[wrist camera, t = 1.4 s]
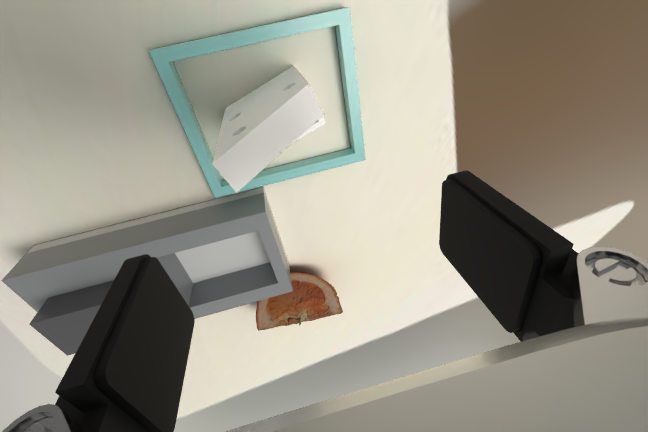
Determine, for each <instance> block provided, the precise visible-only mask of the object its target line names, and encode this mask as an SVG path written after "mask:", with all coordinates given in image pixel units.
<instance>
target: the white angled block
mask: <svg viewBox="0 0 648 432" xmlns="http://www.w3.org/2000/svg"><path fill="white" fill-rule="evenodd" d="M324 114H325V113H324V111H323V110H322V108H321V106H320V104H319V102H318V100H317V98H316V96H315V94H314V92H313V90H312V88H311V86H310V84H309V83H308V82H307V80H306V79H305V78H304V77H303V76H302V75H301V73H300V72H299V71H298V70H297V69H296V68H295V67H294V66H292V67H290V68H289V69H287V70H286V71H284V72H282V73H281V74H279V75H278V76H276V77H274V78H273V79H271V80H270V81H268V82H266V83H265V84H263V85H262V86H260V87H258V88H257V89H255V90H254V91H252V92H250V93H249V94H247V95H246V96H244V97H242V98H241V99H239V100H238V101H236V102H234V103H233V104H231V105H230V106H228V107H226V108H225V112H224V116H223V120H222V125H221V129H220V133H219V137H218V141H217V145H216V149H215V154H214V158H213V162H212V164H213V166H214V167H215V168H216V169H217V170H218V171H219V173H220V174H221V175H222V176H223V177H224V179H225V180H226V181H227V182H228V183H229V185H230V186H231V187H232V188H233V189H234V191H235V192H236V193H237V192H238V191H239V190H241V189H242V188H243V187H244V186H245V185H246V184H247V183H248V182H249V181H251V180H252V179H253V178H254V177H255V176H256V175H257V174H258V173H259V172H261V171H262V170H263V169H264V168H265V167H266V166H267V165H268V164H269V163H271V162H272V161H273V160H274V159H275V158H276V157H277V156H278V155H279V154H281V150H282V149H283V148H285V149H286V148H287V147H288V146H290V145H291V144H292V143H293V142H295V141H297V140H298V139H300V138H302V137H303V136H305V135H307V134H309V133H310V132H312V131H314V130H315V129H317V128H319V127H320V126H322V125H324V124H325V123H326V122H325V120H324V118H323V115H324Z"/></svg>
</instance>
